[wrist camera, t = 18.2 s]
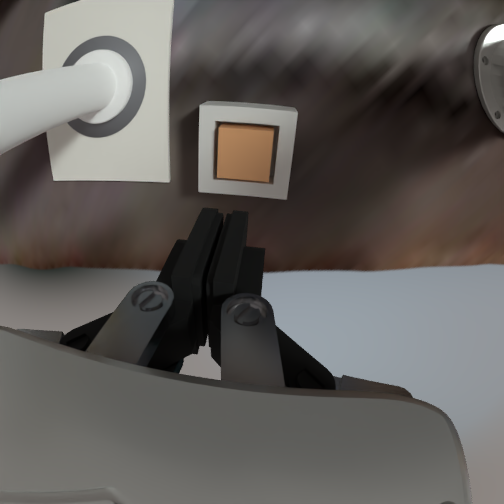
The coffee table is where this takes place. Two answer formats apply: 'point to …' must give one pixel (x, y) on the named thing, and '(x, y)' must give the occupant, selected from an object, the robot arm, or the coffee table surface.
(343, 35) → the coffee table surface
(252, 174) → the button
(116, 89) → the candle
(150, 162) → the paper sheet
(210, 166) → the button housing
